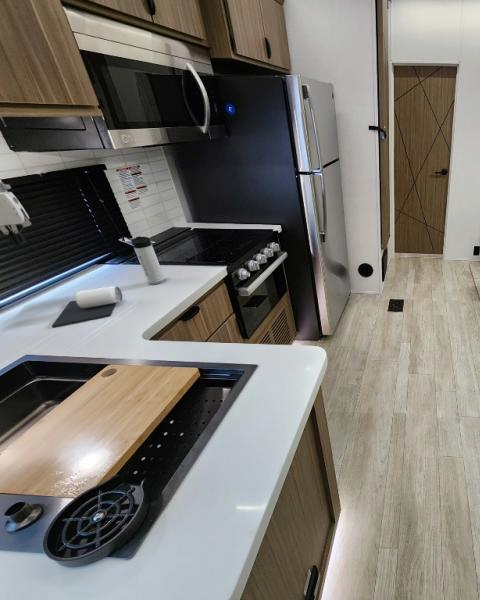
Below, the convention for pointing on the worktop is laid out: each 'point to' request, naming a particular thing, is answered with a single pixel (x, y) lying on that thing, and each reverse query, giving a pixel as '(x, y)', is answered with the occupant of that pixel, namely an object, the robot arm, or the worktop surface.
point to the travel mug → (148, 260)
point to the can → (98, 297)
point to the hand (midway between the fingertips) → (20, 244)
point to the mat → (82, 313)
